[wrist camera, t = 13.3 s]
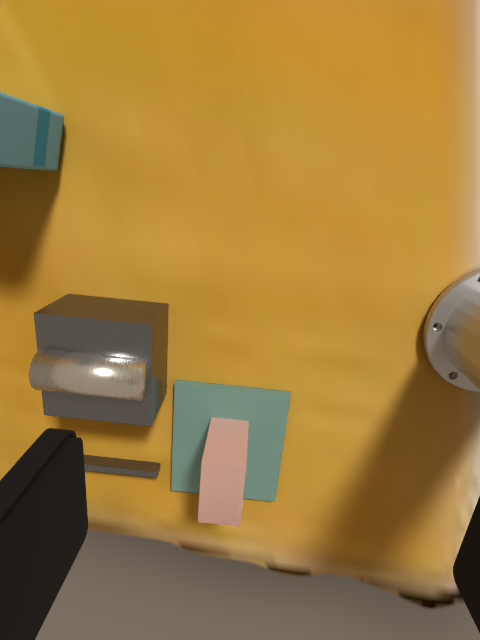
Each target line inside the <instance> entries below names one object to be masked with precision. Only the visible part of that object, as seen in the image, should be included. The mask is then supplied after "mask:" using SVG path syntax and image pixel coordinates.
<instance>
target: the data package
mask: <svg viewBox="0 0 480 640" xmlns="http://www.w3.org/2000/svg"><path fill="white" fill-rule="evenodd" d="M63 122H64V117H63V115H62V114H60V113H57V112H54V111H52V110H49V109H46V108H43V107H40V106H38V105H35V104H32V103H29V102H26V101H24V100H21V99H18V98H15V97H12V96H10V95H7V94H4V93H1V92H0V167H8V168H22V169H36V170H50V171H55V170H57V169H58V163H59V154H60V146H61V138H62V130H63Z"/></svg>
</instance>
